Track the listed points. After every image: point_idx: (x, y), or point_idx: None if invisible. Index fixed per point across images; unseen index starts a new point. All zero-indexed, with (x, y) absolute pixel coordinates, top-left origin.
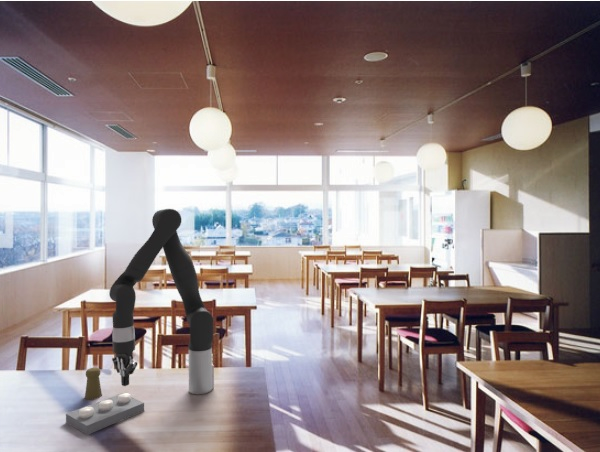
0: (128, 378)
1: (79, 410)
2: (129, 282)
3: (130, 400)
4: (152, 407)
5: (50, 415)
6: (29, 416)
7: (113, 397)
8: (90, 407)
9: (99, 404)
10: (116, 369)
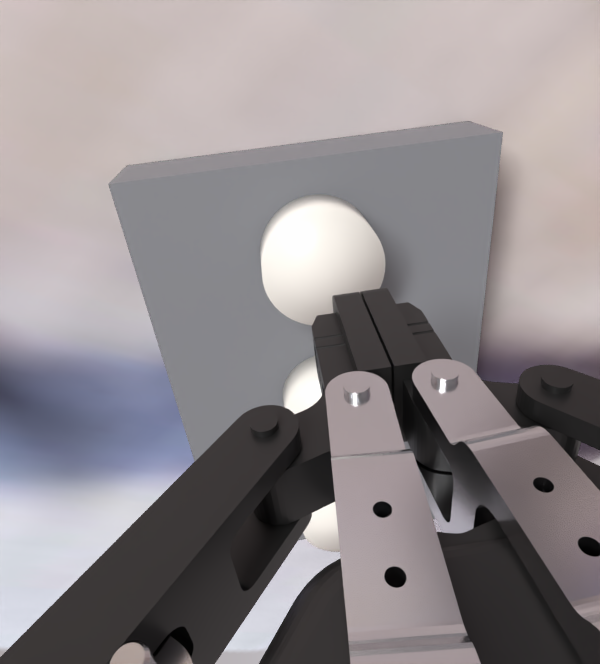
0: (443, 354)
1: (322, 548)
2: None
3: (358, 211)
4: (472, 18)
5: (76, 540)
6: (25, 595)
7: (163, 288)
8: (334, 504)
9: None
10: (239, 538)
